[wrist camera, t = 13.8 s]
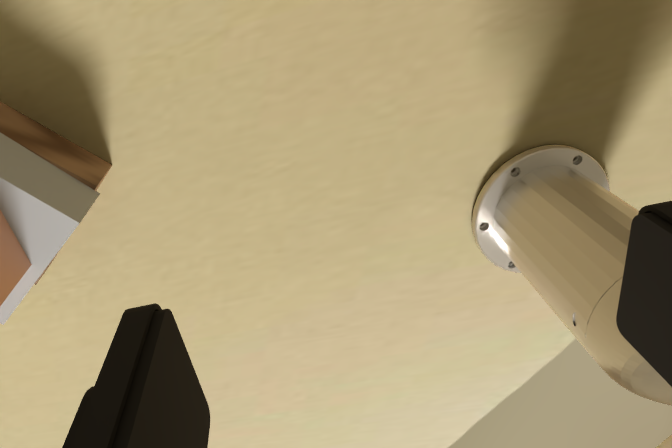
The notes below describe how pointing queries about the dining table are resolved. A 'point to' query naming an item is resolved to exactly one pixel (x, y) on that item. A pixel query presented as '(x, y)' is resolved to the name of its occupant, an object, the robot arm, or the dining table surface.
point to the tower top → (37, 210)
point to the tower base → (53, 149)
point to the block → (10, 260)
